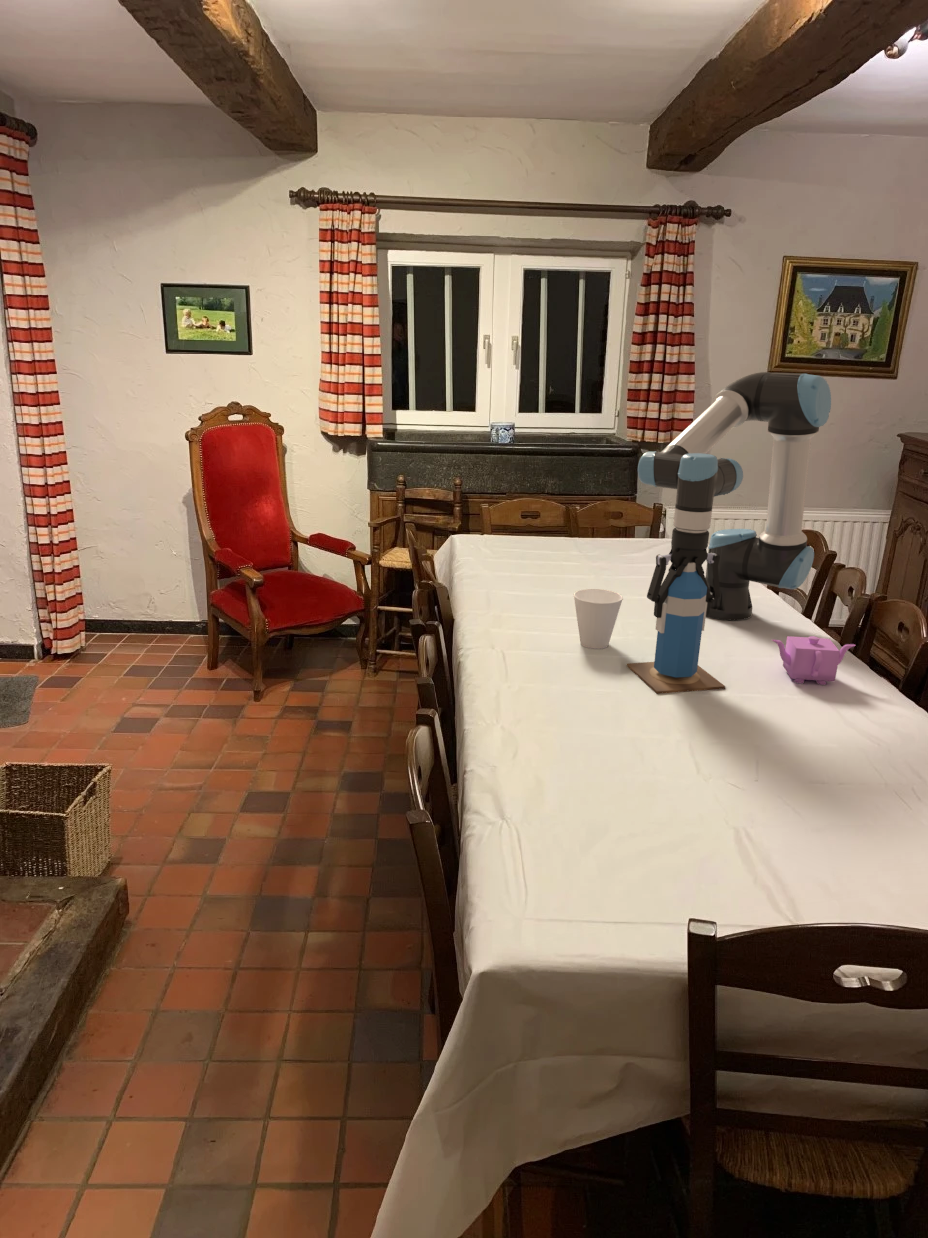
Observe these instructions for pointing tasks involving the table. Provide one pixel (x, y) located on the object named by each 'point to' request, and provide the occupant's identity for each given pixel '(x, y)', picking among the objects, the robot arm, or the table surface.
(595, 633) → the cup
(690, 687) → the plate
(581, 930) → the table surface
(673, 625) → the water bottle
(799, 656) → the teapot
